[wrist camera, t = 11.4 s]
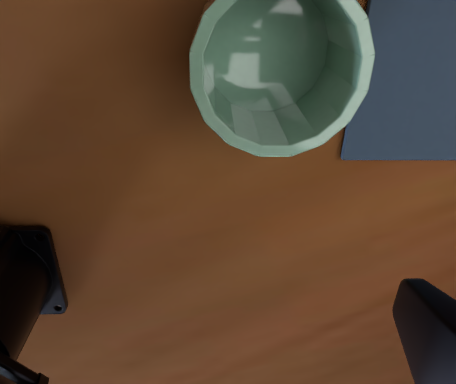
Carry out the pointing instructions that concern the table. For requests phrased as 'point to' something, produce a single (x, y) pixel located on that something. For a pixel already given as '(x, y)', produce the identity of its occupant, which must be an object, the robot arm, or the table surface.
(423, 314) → the robot arm
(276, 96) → the tea cup
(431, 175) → the table surface
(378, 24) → the placemat
